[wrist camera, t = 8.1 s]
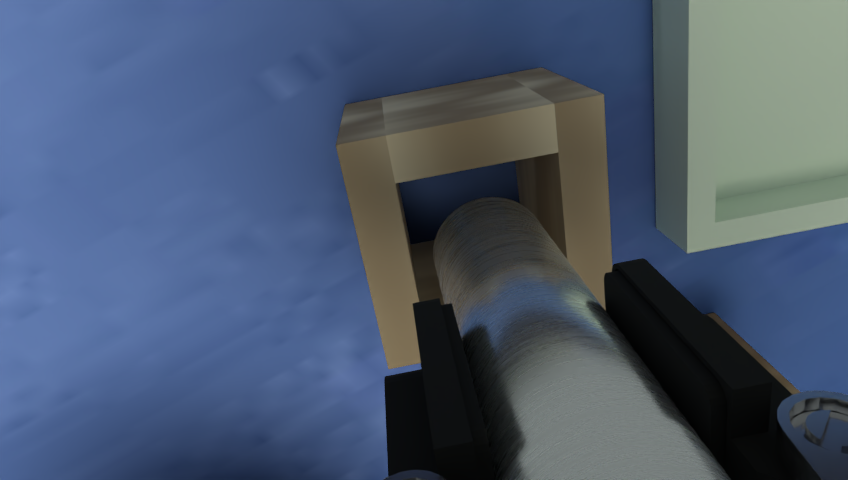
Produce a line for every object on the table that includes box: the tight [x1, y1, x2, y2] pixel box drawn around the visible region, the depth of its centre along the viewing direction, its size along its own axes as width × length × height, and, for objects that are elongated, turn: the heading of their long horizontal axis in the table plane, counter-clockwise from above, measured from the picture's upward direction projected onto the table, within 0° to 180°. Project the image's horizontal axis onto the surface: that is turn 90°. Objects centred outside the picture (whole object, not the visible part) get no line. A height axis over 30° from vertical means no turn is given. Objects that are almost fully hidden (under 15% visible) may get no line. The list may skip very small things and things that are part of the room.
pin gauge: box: [433, 197, 731, 480], centre depth 11 cm, size 3×3×10 cm
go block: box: [336, 67, 612, 369], centre depth 19 cm, size 7×7×6 cm
